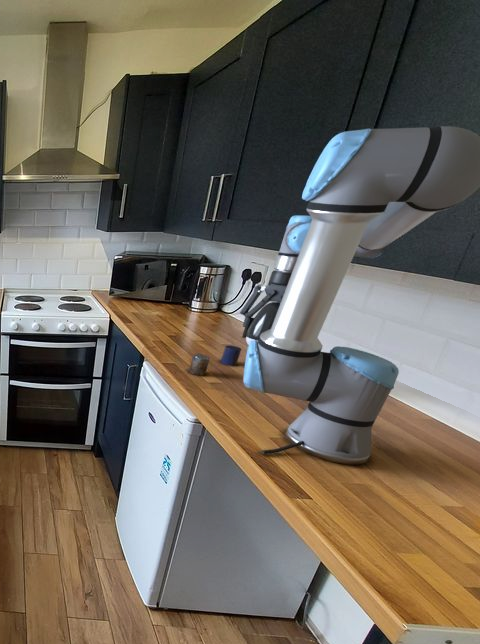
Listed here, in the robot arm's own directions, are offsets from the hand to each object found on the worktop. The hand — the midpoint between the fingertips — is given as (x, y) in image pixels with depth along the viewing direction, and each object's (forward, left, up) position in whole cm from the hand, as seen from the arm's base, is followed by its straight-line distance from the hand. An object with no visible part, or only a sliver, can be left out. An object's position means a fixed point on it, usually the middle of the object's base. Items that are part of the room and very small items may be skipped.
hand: (262, 341), depth 129 cm
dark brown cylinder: (-13, +11, -13) cm, 21 cm away
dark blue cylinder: (+8, +11, -13) cm, 19 cm away
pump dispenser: (0, 0, -3) cm, 3 cm away
